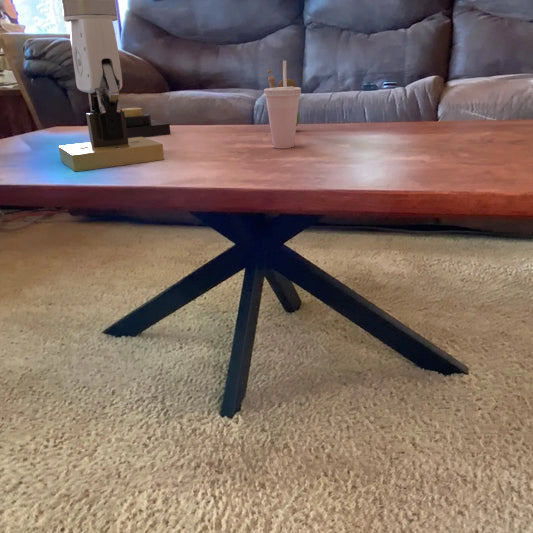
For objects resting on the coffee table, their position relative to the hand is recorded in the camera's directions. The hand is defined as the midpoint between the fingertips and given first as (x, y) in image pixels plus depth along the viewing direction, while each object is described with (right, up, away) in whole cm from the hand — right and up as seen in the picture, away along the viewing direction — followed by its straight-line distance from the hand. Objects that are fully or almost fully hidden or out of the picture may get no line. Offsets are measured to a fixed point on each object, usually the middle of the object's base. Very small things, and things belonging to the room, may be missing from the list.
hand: (108, 136), depth 81 cm
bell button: (-3, +10, +25) cm, 28 cm away
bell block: (-3, +7, +27) cm, 28 cm away
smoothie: (+28, 0, +8) cm, 29 cm away
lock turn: (0, -1, 0) cm, 1 cm away
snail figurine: (+29, +7, +25) cm, 39 cm away
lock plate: (0, -4, +1) cm, 4 cm away
